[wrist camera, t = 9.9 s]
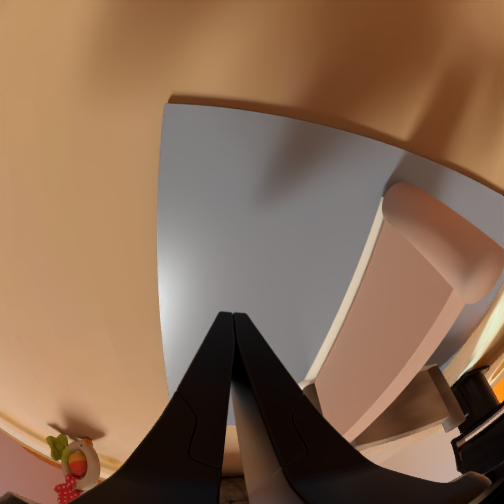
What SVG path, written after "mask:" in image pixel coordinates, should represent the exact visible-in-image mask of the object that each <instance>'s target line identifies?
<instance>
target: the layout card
mask: <svg viewBox="0 0 504 504" xmlns="http://www.w3.org/2000/svg"><path fill="white" fill-rule="evenodd" d="M401 181H407V182H410V183H412V184H414V185H415V186H417V187H419V188H420V189H422V190H424V191H425V192H427V193H428V194H430V195H431V196H433V197H435V198H436V199H438V200H439V201H441V202H442V203H444V204H445V205H447V206H448V207H450V208H451V209H453V210H454V211H455V212H457V213H458V214H460V215H461V216H462V217H464V218H465V219H467V220H468V221H469V222H471V223H472V224H473V225H475V226H476V227H477V228H479V229H480V230H481V231H483V232H484V233H485V234H486V235H488V236H489V237H490V238H491V239H493V240H494V241H495V242H496V243H498V244H499V245H500V246H501V247H502V248H503V249H504V196H503V195H501V194H499V193H497V192H496V191H494V190H492V189H490V188H488V187H486V186H485V185H483V184H481V183H479V182H477V181H475V180H473V179H471V178H469V177H467V176H465V175H463V174H461V173H458V172H456V171H454V170H452V169H450V168H448V167H445V166H443V165H441V164H438V163H436V162H434V161H431V160H429V159H427V158H424V157H422V156H419V155H416V154H414V153H411V152H409V151H406V150H403V149H400V148H398V147H395V146H392V145H389V144H386V143H383V142H380V141H377V140H374V139H371V138H368V137H364V136H361V135H358V134H354V133H351V132H347V131H344V130H340V129H336V128H332V127H328V126H324V125H320V124H316V123H312V122H307V121H303V120H298V119H293V118H288V117H283V116H278V115H272V114H266V113H260V112H254V111H247V110H240V109H232V108H223V107H214V106H203V105H189V104H171V103H165V106H164V115H163V124H162V135H161V147H160V160H159V178H158V205H157V261H158V288H159V306H160V320H161V332H162V342H163V352H164V361H165V369H166V377H167V384H168V391H169V398H170V400H171V398H172V396H173V394H174V392H175V391H176V389H177V387H178V385H179V384H180V382H181V380H182V378H183V376H184V374H185V373H186V371H187V369H188V367H189V365H190V363H191V362H192V360H193V358H194V356H195V354H196V352H197V351H198V349H199V347H200V345H201V343H202V342H203V340H204V338H205V336H206V334H207V332H208V331H209V329H210V327H211V325H212V323H213V321H214V320H215V318H216V316H217V314H218V312H220V311H227V312H232V314H233V313H234V312H241V313H246V314H247V315H248V316H249V317H250V319H251V320H252V322H253V323H254V324H255V326H256V327H257V329H258V330H259V332H260V333H261V334H262V336H263V337H264V339H265V340H266V341H267V343H268V344H269V346H270V347H271V348H272V350H273V351H274V353H275V354H276V355H277V357H278V358H279V359H280V361H281V362H282V364H283V365H284V366H285V368H286V369H287V370H288V372H289V373H290V374H291V376H292V377H293V378H294V380H295V381H296V382H297V384H298V385H299V387H300V388H301V389H303V388H304V387H306V386H308V385H310V384H313V383H314V382H315V380H316V378H317V377H318V375H319V373H320V371H321V369H322V367H323V365H324V363H325V362H326V360H327V358H328V356H329V354H330V352H331V350H332V348H333V346H334V344H335V342H336V340H337V338H338V335H339V333H340V331H341V329H342V327H343V325H344V323H345V321H346V318H347V316H348V314H349V312H350V309H351V307H352V305H353V303H354V300H355V298H356V296H357V293H358V291H359V288H360V286H361V284H362V281H363V279H364V276H365V274H366V271H367V268H368V266H369V263H370V261H371V258H372V255H373V253H374V250H375V247H376V244H377V242H378V239H379V236H380V233H381V230H382V227H383V224H384V221H385V218H384V216H383V213H382V202H383V199H384V196H385V194H386V192H387V191H388V190H389V188H390V187H391V186H393V185H394V184H396V183H398V182H401ZM503 283H504V267H503V270H502V273H501V275H500V277H499V279H498V281H497V282H496V284H495V285H494V287H493V288H492V289H491V290H490V292H489V293H488V294H487V295H486V296H484V297H483V298H482V299H481V300H479V301H478V302H475V303H473V304H465V306H464V307H463V309H462V311H461V312H460V314H459V316H458V317H457V319H456V320H455V322H454V324H453V325H452V327H451V328H450V330H449V331H448V333H447V334H446V336H445V337H444V339H443V340H442V341H441V343H440V344H439V346H438V347H437V348H436V350H435V351H434V353H433V354H432V355H431V357H430V358H429V359H428V360H427V362H426V363H425V364H424V366H423V367H422V368H421V369H420V371H424V370H428V369H429V368H431V367H433V366H437V365H438V367H439V369H440V370H441V372H442V371H443V370H444V369H445V368H446V367H447V365H448V364H449V363H450V362H451V360H452V359H453V358H454V357H455V355H456V354H457V353H458V352H459V350H460V349H461V348H462V346H463V345H464V344H465V342H466V341H467V340H468V338H469V337H470V336H471V334H472V333H473V331H474V330H475V328H476V327H477V325H478V324H479V323H480V321H481V320H482V318H483V316H484V315H485V313H486V312H487V310H488V309H489V307H490V305H491V304H492V302H493V300H494V299H495V297H496V295H497V294H498V292H499V290H500V288H501V287H502V285H503ZM420 371H419V372H420ZM227 425H236V423H235V416H234V410H233V403H232V396H231V389H230V399H229V408H228V417H227Z"/></svg>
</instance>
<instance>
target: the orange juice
mask: <svg viewBox="0 0 504 504" xmlns="http://www.w3.org/2000/svg"><path fill="white" fill-rule="evenodd" d="M493 390H494V392H495V394H496V396H497V397H498V399H499V401H500V403H502V402H503V401H504V378H503V379H502V380H501V381H500V382H499V383H498V384H497V385H496V386H495V387H494V388H493Z"/></svg>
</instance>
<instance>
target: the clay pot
mask: <svg viewBox="0 0 504 504" xmlns="http://www.w3.org/2000/svg"><path fill="white" fill-rule="evenodd" d="M248 497H249V496H248V493H247V487H246V482H245V478H242V477H232V478H221V484H220V501H219V504H250V503H249V498H248Z"/></svg>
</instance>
